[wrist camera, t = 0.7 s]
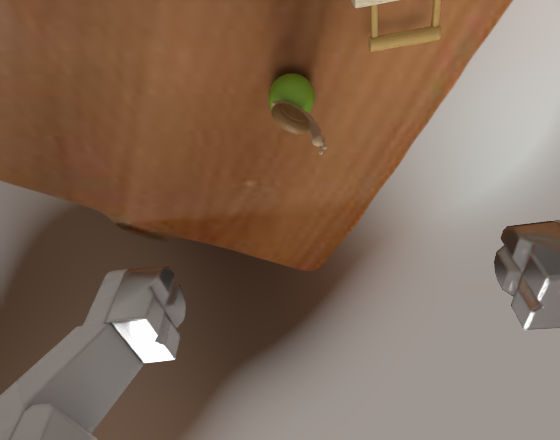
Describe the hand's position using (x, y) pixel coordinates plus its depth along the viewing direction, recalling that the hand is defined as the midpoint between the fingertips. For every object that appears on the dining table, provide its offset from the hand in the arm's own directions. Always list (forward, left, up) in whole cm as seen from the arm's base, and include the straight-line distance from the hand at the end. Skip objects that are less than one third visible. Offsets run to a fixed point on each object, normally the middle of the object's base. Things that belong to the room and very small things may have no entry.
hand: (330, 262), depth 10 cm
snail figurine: (+13, -2, -40) cm, 42 cm away
